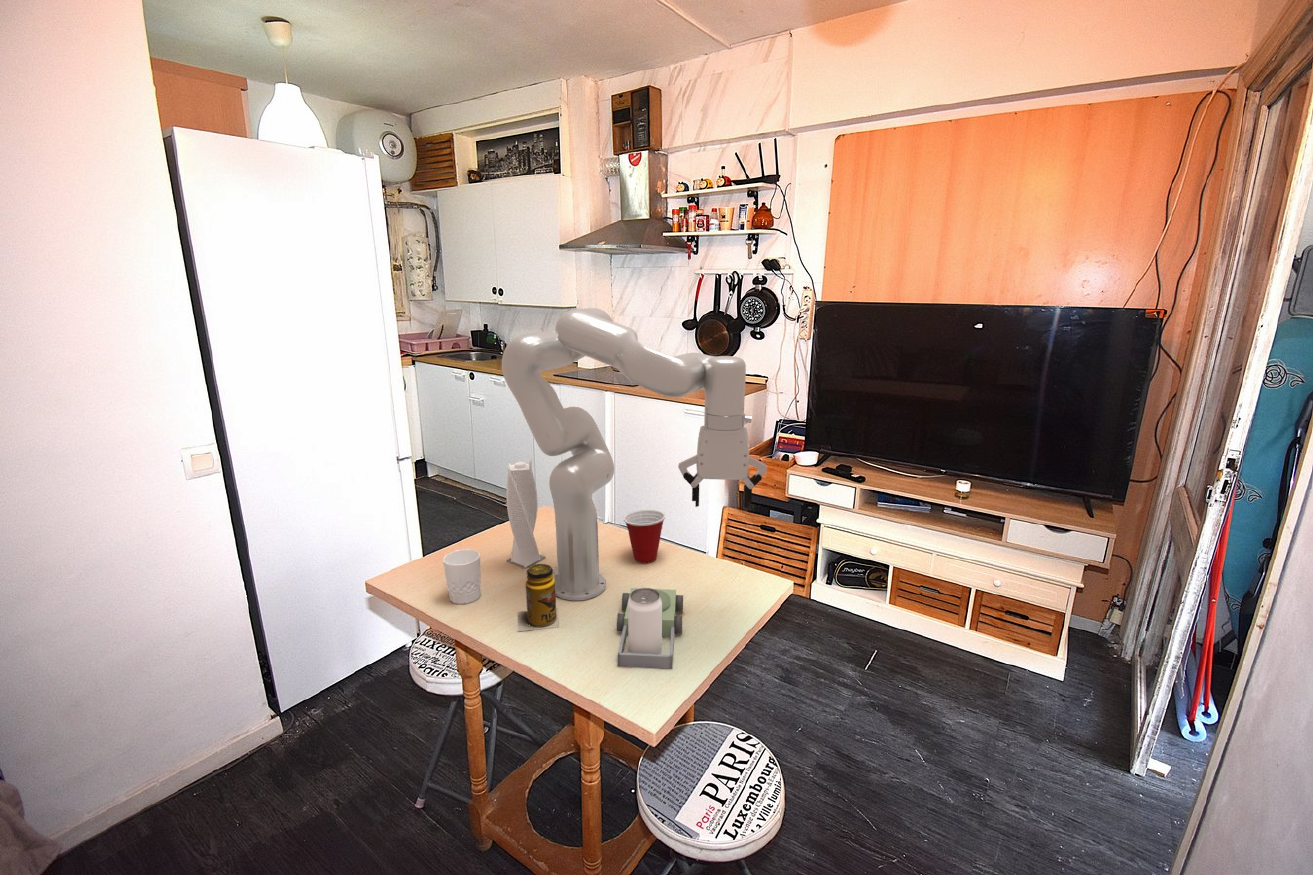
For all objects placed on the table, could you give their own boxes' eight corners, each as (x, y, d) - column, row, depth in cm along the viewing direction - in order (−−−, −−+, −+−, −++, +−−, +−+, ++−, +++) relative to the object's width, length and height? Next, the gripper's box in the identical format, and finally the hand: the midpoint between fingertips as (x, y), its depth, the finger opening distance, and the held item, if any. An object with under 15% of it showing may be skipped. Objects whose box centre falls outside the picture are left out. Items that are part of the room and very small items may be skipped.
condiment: (559, 627, 120) (557, 574, 117) (517, 632, 118) (514, 579, 115) (557, 608, 127) (554, 558, 124) (517, 613, 125) (514, 562, 122)
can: (624, 658, 110) (624, 602, 107) (633, 638, 116) (632, 584, 113) (658, 662, 108) (658, 605, 105) (664, 642, 114) (665, 588, 111)
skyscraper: (549, 559, 149) (544, 455, 142) (526, 572, 142) (520, 464, 135) (526, 551, 153) (520, 450, 146) (503, 563, 147) (495, 458, 140)
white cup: (466, 584, 136) (463, 546, 134) (490, 593, 133) (487, 553, 130) (439, 600, 130) (435, 559, 127) (464, 609, 126) (460, 568, 123)
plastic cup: (639, 545, 157) (639, 504, 154) (673, 555, 151) (673, 513, 148) (615, 560, 148) (614, 517, 145) (649, 572, 143) (649, 527, 140)
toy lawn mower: (609, 665, 108) (609, 642, 106) (623, 603, 128) (623, 583, 127) (680, 668, 107) (680, 645, 105) (683, 606, 127) (683, 585, 126)
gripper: (767, 417, 114) (763, 499, 118) (679, 416, 115) (678, 497, 119) (771, 427, 106) (767, 513, 111) (678, 425, 107) (677, 510, 112)
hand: (721, 504), depth 115 cm, fingers open, 9 cm apart
